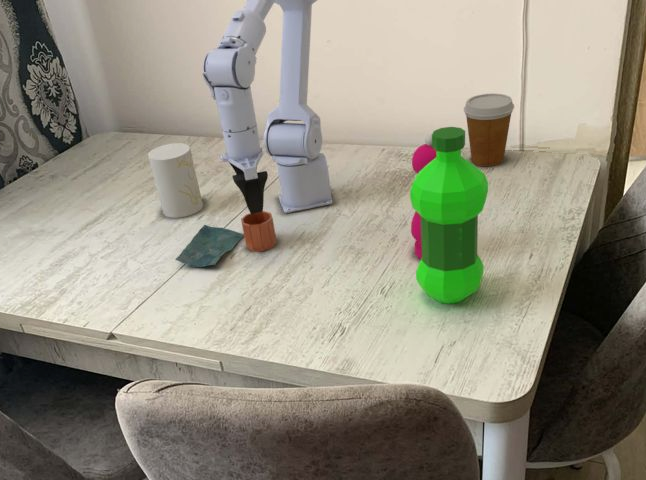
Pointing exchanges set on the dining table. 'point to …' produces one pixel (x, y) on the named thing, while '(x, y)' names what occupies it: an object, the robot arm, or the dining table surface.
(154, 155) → the white cylinder
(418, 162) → the pepper mill
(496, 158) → the disposable coffee cup
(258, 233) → the faceted terracotta tumbler
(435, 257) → the plastic bottle
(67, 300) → the dining table surface
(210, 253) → the terrain model
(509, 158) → the dining table surface
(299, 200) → the robot arm
